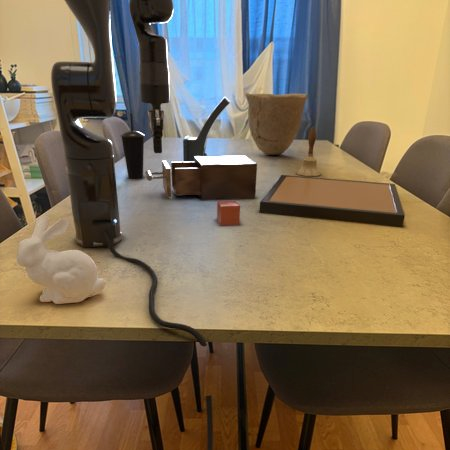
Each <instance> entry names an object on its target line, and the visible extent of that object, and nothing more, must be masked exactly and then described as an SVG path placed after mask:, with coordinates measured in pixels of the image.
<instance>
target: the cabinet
mask: <svg viewBox="0 0 450 450" xmlns="http://www.w3.org/2000/svg"><path fill="white" fill-rule="evenodd" d="M194 162H197V163H198V164H199V166H200V167H201V195H198V197H199V198H200V200H201V201H225V200H252V199H256V190H257V189H256V188H257V174H258V173H257V172H258V163H257V162H256V161H253V160H252V159H251V158H250V157H248V156H247V155H219V156H218V155H214V156H213V155H210V156H208V155H207V156H198V157H194Z"/></svg>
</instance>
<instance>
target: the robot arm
mask: <svg viewBox="0 0 450 450" xmlns="http://www.w3.org/2000/svg"><path fill="white" fill-rule="evenodd" d="M64 2H65V4H66V6H67V7H68V8H69V10H70V11H71V13H72V14H73V16H74V17H75V19H76V20H77V22H78V23H79V25H80V26H81V29H82V30H83V31H84V33H85V35H86V37H87V39H88V41H89V43H90V45H91V48H92V51H93V54H94V61H56V62H54V64H53V65H52V67H51V70H50V81H51V83H50V84H51V91H52V96H53V101H54V106H55V110H56V116H57V121H58V126H59V133H60V138H61V139H60V140H61V144H62V150H63V154H64V156H63V157H64V162H65V169H66V176H67V184H68V190H69V199H70V205H71V212H72V218H73V219H72V220H73V225H74V232H75V242H76V243H77V244H78V245H80V246H82V248H101V247H102V248H103V247H108V249H109V251H110V252H111V253H112V255H114V257H115V258H117V259H120V260H123V261H126V262H128V263H132V264H136V265H139V266H141V267H142V268H143V269H145V270H146V271H147V272H148V274H150V276H151V279H152V282H151V286H150V289H149V292H148V312H149V315H150V317H151V319H152V320H153V321H154V322H155V323H156V324H157V325H159V326H161V327H163V328H167V329H173V330H179V331H184V332H186V333H188V334H189V335H192V337H194V338H195V339H196V340H197V342H198V343H199V345H200V346H202V347H207V346H208V345H207V342H206V340H205V338H204V337H203V336H202V334H201V333H200V332H199V331H198V330H197V329H195V328H193V327H192V326H190V325H187V324H183V323H179V322H178V323H177V322H171V321H167V320H166V321H165V320H163V319H161V317H159V315H158V314H157V313H156V311H155V310H156V309H155V293H156V289H157V286H158V277H157V275H156V272H155V271H154V269H153V268H152V267H151V266H150V265H148V264H147V263H145V262H144V261H142V260H141V259H138V258H133V257H127V256H123V255H122V254H120V253H119V252H117V251H116V250H115V248H114V246H115V244H117V243H119V242H120V241H122V239H123V236H122V235H123V234H122V229H121V220H120V209H119V197H118V187H117V176H116V164H115V155H114V146H113V142H112V141H111V139H109V138H107V137H105V136H103V135H102V136H101V135H99V134H96V133H94V132H92V131H91V130H88V128H85V127H84V126H83V125H82V124H81V122H80V119H110V118H113V117H114V115H115V113H116V109H117V85H116V75H115V63H114V55H113V54H114V53H113V41H112V30H111V29H112V28H111V0H64ZM128 10H129V15H130V19H131V23H132V25H133V28H134V32H135V37H136V40H137V43H138V57H139V68H138V69H139V71H138V74H139V91H140V102H141V103H142V104H149V105H150V109H148V110H147V115H148V117H149V119H148V120H149V128H150V130H151V131H150V133H151V138H152V146H153V153H155V154H162V153H163V142H162V140H163V137H164V127H165V125H164V119H165V110H162V105H163V104H169V103H170V102H171V95H170V91H171V90H170V71H169V70H170V69H169V63H168V42H167V39H166V37H164V36H163V35H160V34H157V33H154V31H153V28H152V26H151V24H165V23H168V22H169V21H170V20H171V19H172V17H173V14H174V2H173V0H128ZM212 397H213V396H212V395H205V405H206V439H207V440H206V442H207V443H206V445H207V447H206V450H214V420H213V419H214V418H213V416H214V415H213V399H212Z"/></svg>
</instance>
